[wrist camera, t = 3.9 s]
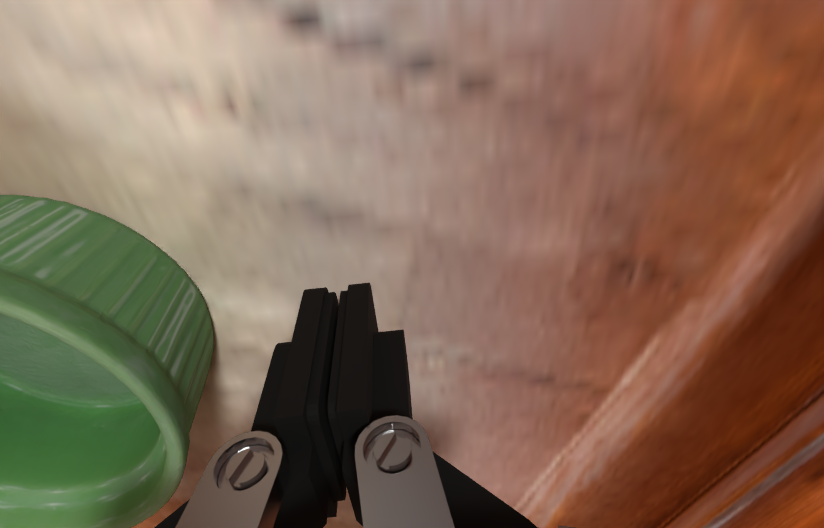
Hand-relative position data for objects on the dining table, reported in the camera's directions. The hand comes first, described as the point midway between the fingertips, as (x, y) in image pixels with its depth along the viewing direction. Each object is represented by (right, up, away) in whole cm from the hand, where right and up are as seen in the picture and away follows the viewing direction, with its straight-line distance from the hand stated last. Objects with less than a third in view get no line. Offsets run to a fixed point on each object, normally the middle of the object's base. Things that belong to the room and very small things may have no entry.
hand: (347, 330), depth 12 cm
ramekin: (-8, 0, +2) cm, 8 cm away
